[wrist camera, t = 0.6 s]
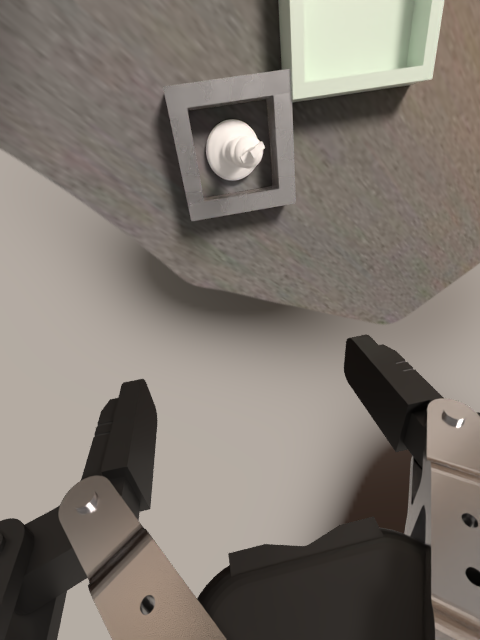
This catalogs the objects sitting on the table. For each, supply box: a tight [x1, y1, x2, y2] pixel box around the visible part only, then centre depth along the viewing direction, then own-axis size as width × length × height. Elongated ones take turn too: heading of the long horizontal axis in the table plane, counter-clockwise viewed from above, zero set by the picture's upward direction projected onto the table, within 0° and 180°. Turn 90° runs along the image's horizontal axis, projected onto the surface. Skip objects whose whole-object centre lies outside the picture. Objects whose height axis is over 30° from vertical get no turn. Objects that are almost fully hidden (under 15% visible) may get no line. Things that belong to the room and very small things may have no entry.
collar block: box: [163, 69, 296, 221], centre depth 27 cm, size 10×10×2 cm
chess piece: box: [206, 119, 265, 181], centre depth 24 cm, size 5×5×10 cm
